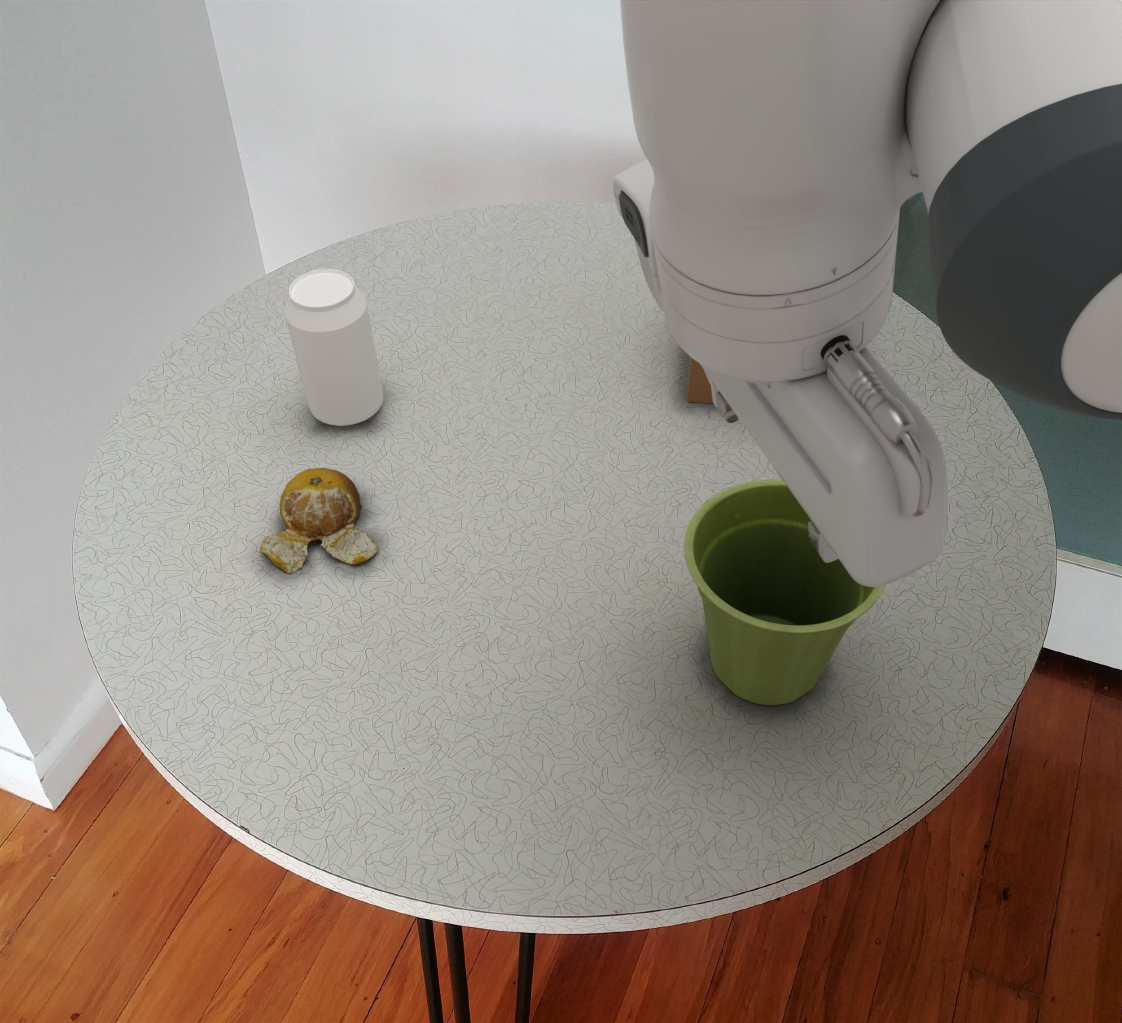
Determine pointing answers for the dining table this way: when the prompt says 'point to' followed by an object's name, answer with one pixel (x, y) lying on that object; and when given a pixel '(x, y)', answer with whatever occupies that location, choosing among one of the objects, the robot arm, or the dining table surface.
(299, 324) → the beverage can
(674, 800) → the dining table surface
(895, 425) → the robot arm
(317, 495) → the fruit
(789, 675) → the plant pot
